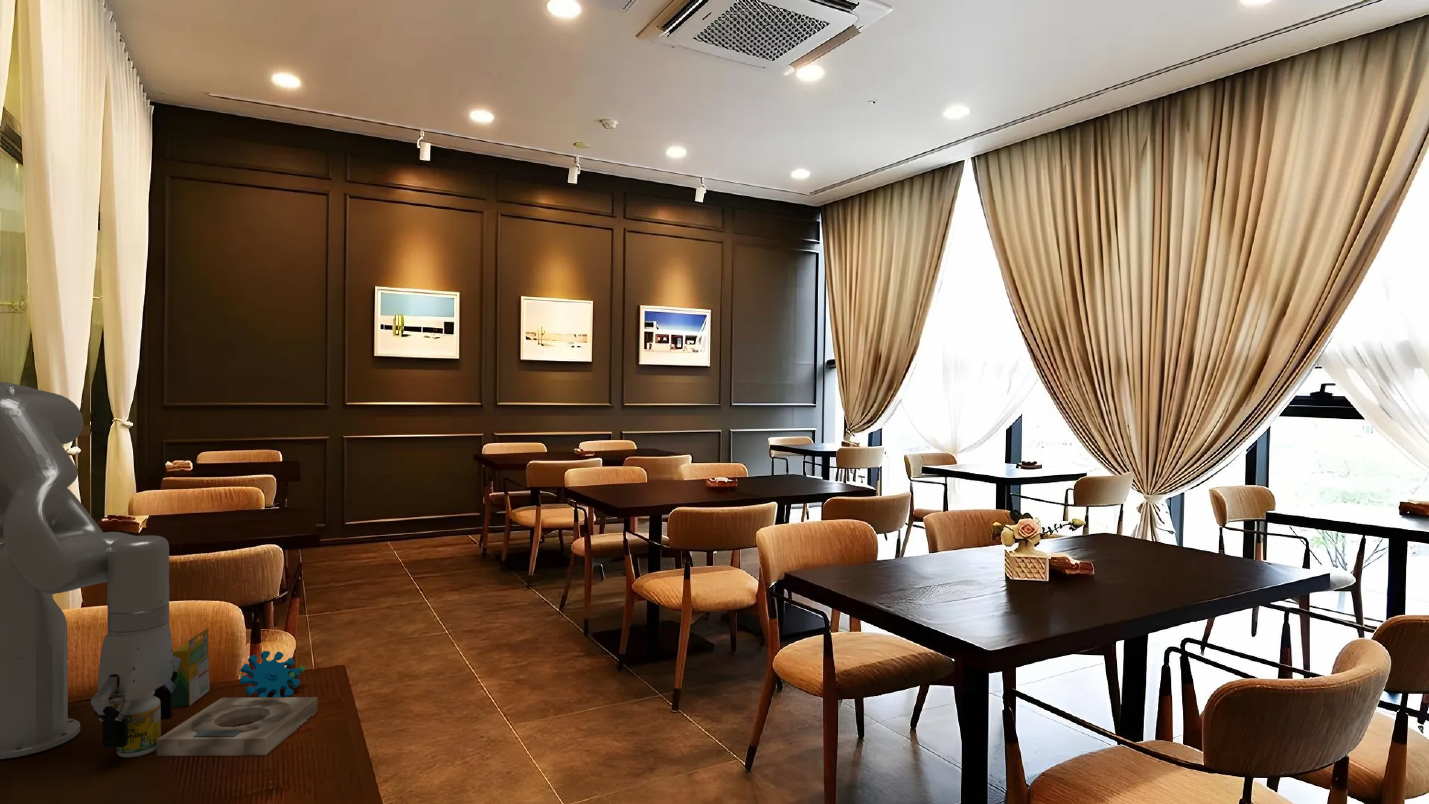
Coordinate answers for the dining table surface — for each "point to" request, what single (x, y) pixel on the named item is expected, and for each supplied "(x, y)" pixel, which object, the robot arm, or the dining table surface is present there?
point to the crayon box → (192, 671)
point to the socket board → (238, 727)
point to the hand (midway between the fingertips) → (138, 732)
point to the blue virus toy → (270, 675)
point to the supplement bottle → (142, 726)
